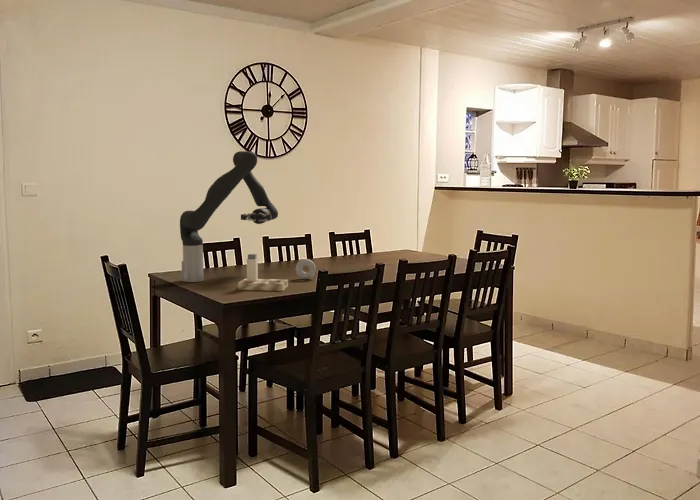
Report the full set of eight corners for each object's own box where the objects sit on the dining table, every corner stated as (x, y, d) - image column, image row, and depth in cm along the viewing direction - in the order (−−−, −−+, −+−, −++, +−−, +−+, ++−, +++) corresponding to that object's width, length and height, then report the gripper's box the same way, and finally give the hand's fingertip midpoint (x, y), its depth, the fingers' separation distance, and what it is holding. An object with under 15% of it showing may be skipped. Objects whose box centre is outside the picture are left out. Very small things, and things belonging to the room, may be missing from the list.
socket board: (238, 289, 277) (238, 282, 276) (244, 285, 288) (244, 278, 288) (283, 290, 275) (283, 283, 275) (288, 286, 287) (288, 278, 286)
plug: (247, 288, 280) (246, 254, 279) (249, 286, 284) (248, 253, 283) (255, 288, 280) (255, 255, 278) (257, 286, 284) (257, 253, 282)
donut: (295, 279, 305) (295, 259, 304) (296, 278, 309) (296, 258, 308) (315, 279, 305) (315, 259, 304) (316, 278, 308) (316, 258, 307)
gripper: (246, 208, 314) (237, 209, 298) (274, 208, 312) (267, 210, 296) (246, 223, 314) (238, 225, 298) (274, 223, 313) (267, 226, 297)
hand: (252, 218), depth 297 cm, fingers open, 8 cm apart
